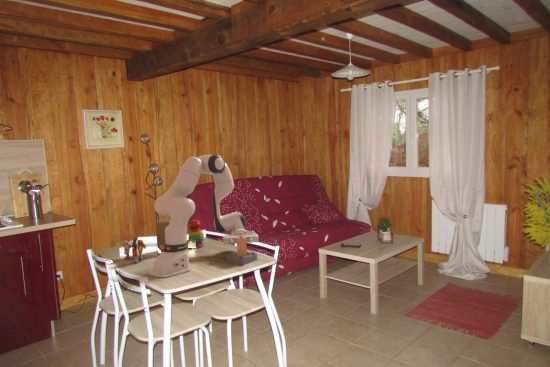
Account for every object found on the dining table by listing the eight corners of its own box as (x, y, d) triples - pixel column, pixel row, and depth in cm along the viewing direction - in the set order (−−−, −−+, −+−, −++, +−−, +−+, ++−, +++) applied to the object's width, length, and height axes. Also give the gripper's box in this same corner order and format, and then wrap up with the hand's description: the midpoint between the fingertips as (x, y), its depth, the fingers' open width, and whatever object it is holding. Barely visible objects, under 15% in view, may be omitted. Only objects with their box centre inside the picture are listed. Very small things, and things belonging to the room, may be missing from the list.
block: (178, 249, 250) (176, 218, 248) (172, 254, 240) (171, 221, 239) (163, 249, 251) (161, 218, 249) (156, 254, 241) (155, 221, 240)
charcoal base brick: (243, 266, 214) (243, 257, 214) (227, 262, 221) (227, 254, 221) (257, 260, 224) (257, 252, 224) (241, 257, 231) (240, 249, 231)
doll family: (121, 257, 235) (120, 236, 234) (137, 254, 242) (135, 233, 240) (135, 265, 219) (134, 242, 218) (152, 261, 226) (150, 239, 225)
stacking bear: (187, 245, 261) (186, 219, 259) (203, 244, 263) (202, 218, 262) (188, 249, 251) (186, 221, 249) (204, 248, 253) (203, 220, 251)
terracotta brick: (246, 255, 220) (246, 236, 219) (237, 256, 219) (237, 237, 218) (246, 253, 225) (245, 234, 224) (237, 253, 224) (236, 235, 223)
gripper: (222, 232, 232) (223, 237, 219) (256, 230, 236) (259, 235, 222) (222, 242, 233) (223, 248, 219) (256, 240, 236) (259, 246, 223)
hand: (241, 242), depth 221 cm, fingers open, 8 cm apart
